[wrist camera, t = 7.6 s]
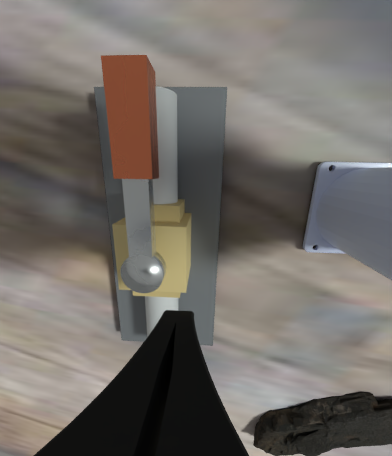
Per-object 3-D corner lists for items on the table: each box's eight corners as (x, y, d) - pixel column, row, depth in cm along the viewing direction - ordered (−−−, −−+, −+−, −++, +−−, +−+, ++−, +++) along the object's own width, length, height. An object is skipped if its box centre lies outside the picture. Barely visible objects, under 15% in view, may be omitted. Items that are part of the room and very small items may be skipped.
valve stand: (225, 93, 15) (237, 43, 9) (212, 336, 22) (214, 398, 16) (102, 93, 16) (37, 44, 10) (126, 331, 23) (96, 390, 17)
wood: (434, 378, 23) (468, 409, 20) (429, 422, 25) (460, 456, 22) (243, 399, 25) (248, 429, 22) (252, 437, 27) (258, 469, 24)
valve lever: (167, 283, 13) (162, 296, 12) (129, 281, 13) (120, 294, 12) (160, 72, 10) (153, 54, 8) (110, 72, 10) (94, 55, 8)
